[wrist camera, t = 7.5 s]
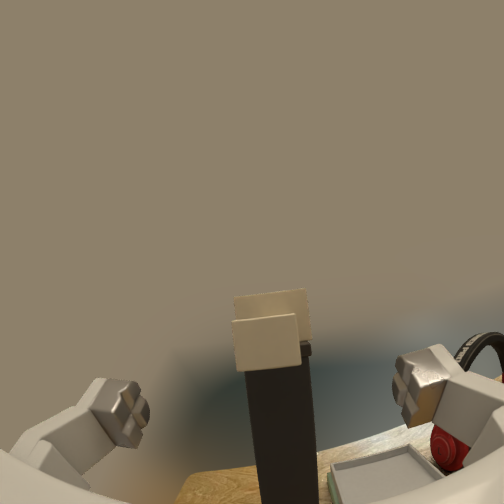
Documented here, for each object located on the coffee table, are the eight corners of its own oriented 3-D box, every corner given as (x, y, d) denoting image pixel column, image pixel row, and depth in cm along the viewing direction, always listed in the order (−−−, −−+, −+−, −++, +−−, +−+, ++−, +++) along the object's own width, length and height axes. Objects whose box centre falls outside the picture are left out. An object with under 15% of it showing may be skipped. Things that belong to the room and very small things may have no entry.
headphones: (455, 487, 19) (467, 351, 24) (418, 466, 29) (419, 350, 33) (525, 432, 21) (531, 316, 25) (488, 424, 30) (489, 322, 35)
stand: (273, 590, 10) (238, 351, 17) (277, 544, 19) (252, 341, 25) (321, 586, 10) (310, 343, 16) (316, 541, 18) (302, 335, 25)
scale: (349, 574, 11) (352, 555, 12) (327, 481, 32) (326, 462, 33) (474, 527, 10) (483, 503, 11) (410, 461, 31) (411, 441, 32)
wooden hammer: (197, 374, 9) (187, 273, 10) (247, 343, 24) (243, 301, 25) (342, 358, 9) (328, 255, 10) (306, 335, 23) (301, 294, 24)
